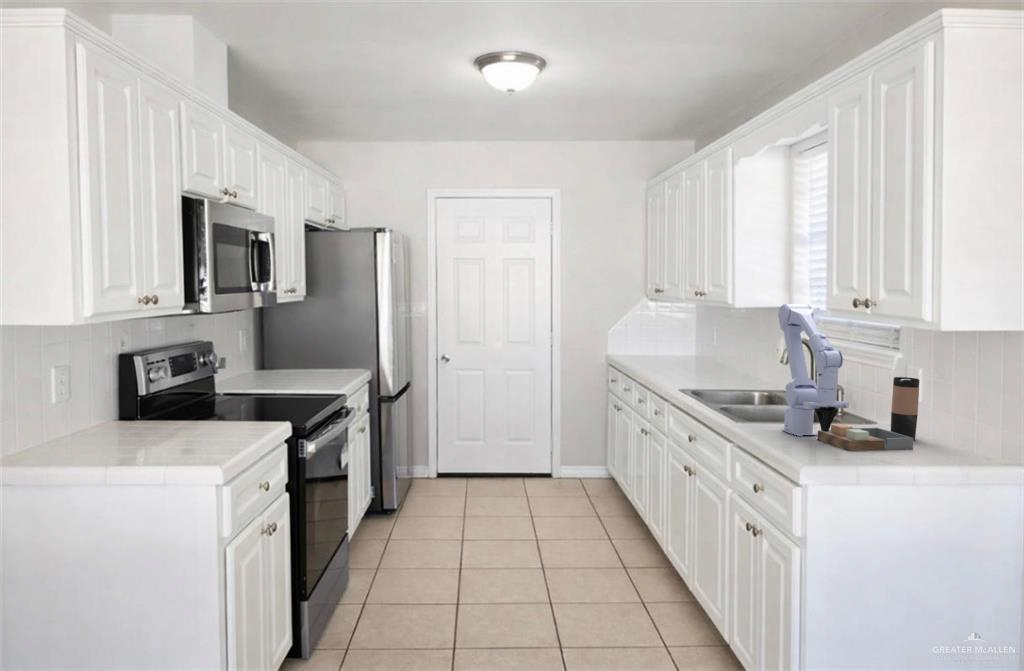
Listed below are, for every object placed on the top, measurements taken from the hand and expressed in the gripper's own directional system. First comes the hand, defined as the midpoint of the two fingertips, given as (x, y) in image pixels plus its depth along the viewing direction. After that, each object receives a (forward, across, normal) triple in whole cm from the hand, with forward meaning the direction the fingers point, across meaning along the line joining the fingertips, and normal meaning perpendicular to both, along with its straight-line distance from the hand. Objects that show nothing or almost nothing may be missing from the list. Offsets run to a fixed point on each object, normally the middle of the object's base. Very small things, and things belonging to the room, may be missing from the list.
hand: (824, 430), depth 232 cm
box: (+4, +18, -3) cm, 19 cm away
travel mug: (+4, +31, +3) cm, 31 cm away
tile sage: (+1, +6, -8) cm, 10 cm away
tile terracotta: (+1, +6, 0) cm, 6 cm away
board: (+4, +7, -3) cm, 9 cm away
